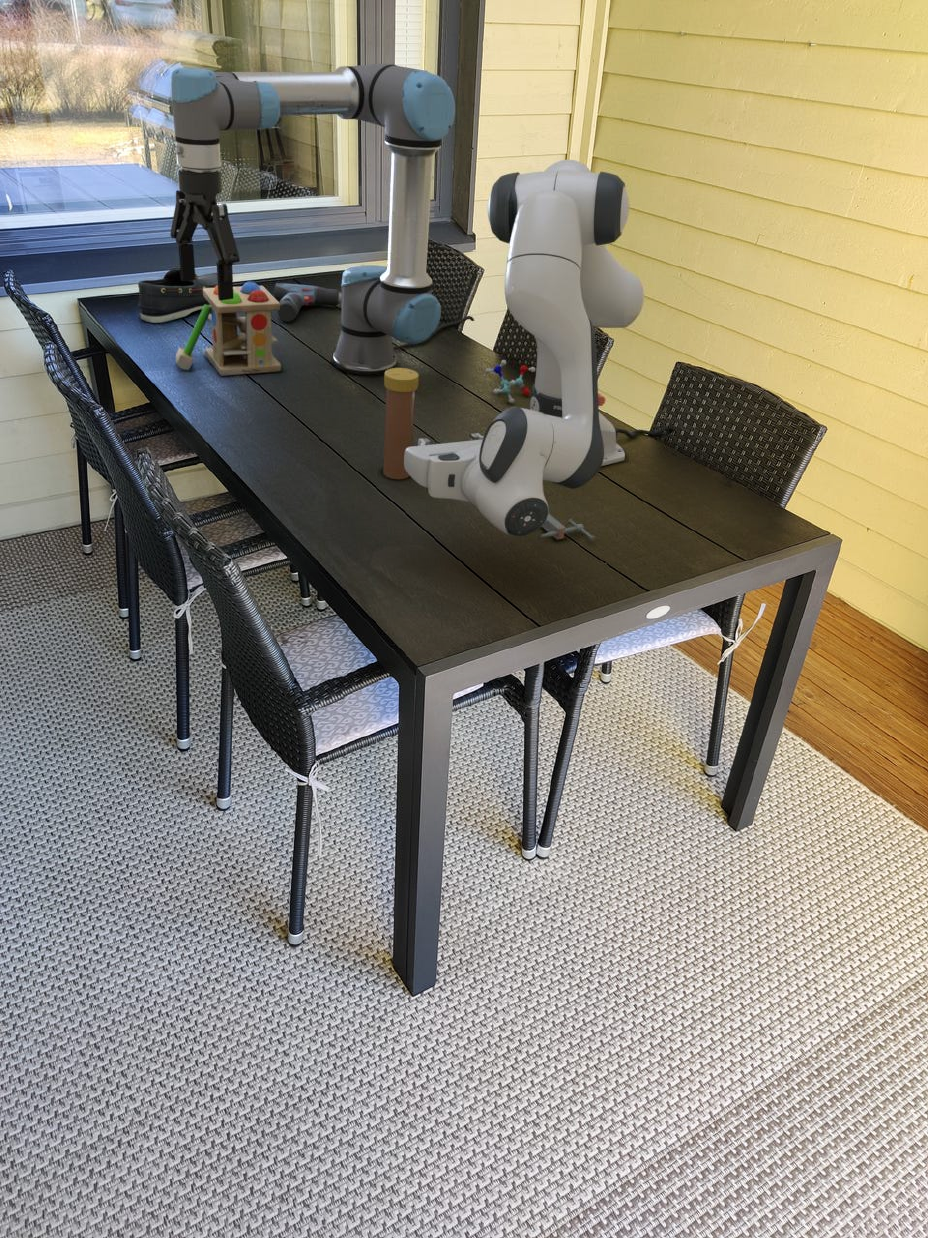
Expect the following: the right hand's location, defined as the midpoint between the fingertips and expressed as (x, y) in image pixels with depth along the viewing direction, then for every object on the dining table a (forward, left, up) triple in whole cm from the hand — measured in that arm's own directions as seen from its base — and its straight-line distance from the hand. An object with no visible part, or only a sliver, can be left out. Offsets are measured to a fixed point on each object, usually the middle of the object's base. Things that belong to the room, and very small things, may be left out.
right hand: (447, 439), depth 165 cm
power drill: (-12, -120, -17) cm, 122 cm away
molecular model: (-40, -53, -17) cm, 68 cm away
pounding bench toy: (+18, -86, -17) cm, 89 cm away
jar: (0, -22, -17) cm, 28 cm away
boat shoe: (+18, -130, -17) cm, 132 cm away
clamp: (-18, +7, -17) cm, 26 cm away
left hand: (+28, -51, +11) cm, 60 cm away
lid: (0, -22, +3) cm, 22 cm away
